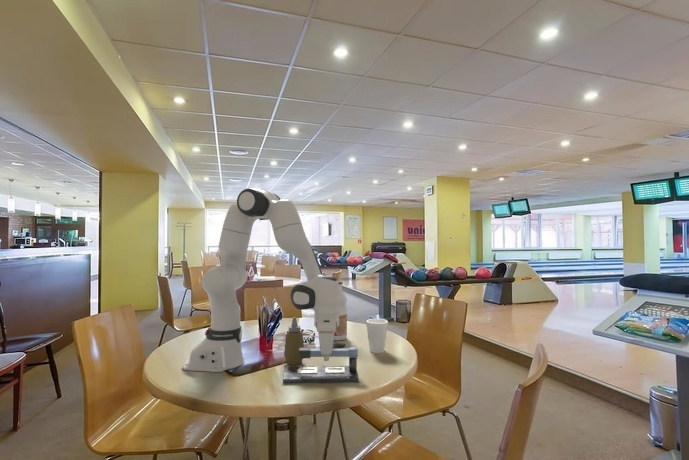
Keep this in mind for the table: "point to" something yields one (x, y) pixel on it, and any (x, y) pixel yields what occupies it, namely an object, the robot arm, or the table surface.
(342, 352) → the swing arm
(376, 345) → the foam cup
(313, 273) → the robot arm
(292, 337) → the squeeze bottle
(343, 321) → the fruit juice
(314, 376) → the switch panel
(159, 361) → the table surface
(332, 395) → the table surface
